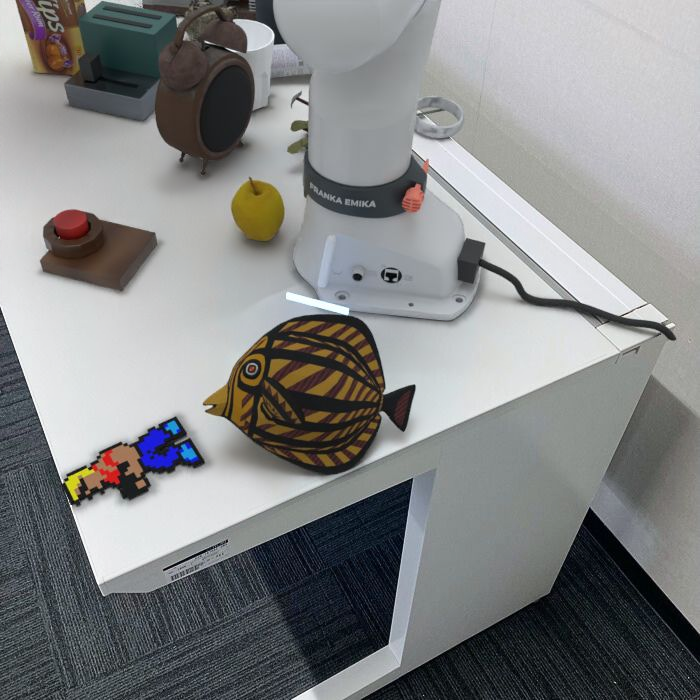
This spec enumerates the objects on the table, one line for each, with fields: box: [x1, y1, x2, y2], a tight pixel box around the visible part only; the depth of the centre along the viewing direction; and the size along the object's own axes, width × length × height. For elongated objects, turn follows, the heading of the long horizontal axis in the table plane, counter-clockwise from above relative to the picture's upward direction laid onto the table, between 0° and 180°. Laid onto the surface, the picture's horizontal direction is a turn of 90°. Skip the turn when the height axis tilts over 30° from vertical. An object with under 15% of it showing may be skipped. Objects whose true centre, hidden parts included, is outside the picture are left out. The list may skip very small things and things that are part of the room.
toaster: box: [63, 0, 178, 122], centre depth 113 cm, size 12×14×10 cm
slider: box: [78, 52, 103, 81], centre depth 111 cm, size 2×3×3 cm
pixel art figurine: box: [60, 416, 205, 507], centre depth 71 cm, size 6×1×12 cm
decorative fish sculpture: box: [202, 313, 417, 475], centre depth 73 cm, size 14×16×12 cm
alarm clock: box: [154, 5, 255, 177], centre depth 99 cm, size 15×7×20 cm, turn 150°
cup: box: [204, 19, 274, 112], centre depth 113 cm, size 10×10×10 cm
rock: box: [183, 0, 238, 41], centre depth 129 cm, size 6×9×10 cm
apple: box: [230, 176, 286, 242], centre depth 92 cm, size 6×6×8 cm
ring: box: [414, 95, 465, 139], centre depth 113 cm, size 8×8×2 cm
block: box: [39, 210, 158, 292], centre depth 90 cm, size 11×9×4 cm
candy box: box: [15, 0, 88, 76], centre depth 115 cm, size 9×4×15 cm, turn 86°
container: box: [270, 44, 314, 79], centre depth 120 cm, size 5×5×15 cm
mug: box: [255, 0, 286, 45], centre depth 122 cm, size 12×9×11 cm
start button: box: [54, 208, 89, 240], centre depth 88 cm, size 4×4×2 cm
